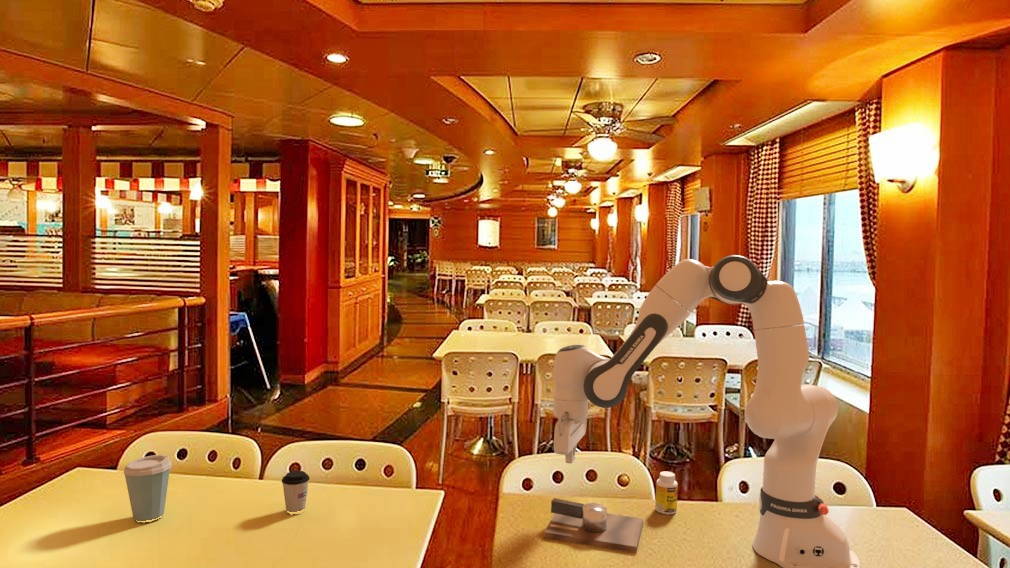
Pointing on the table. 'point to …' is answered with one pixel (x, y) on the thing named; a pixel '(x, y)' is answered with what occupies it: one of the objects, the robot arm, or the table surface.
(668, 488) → the supplement bottle
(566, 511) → the lever handle
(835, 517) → the table surface
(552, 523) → the lock base
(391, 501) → the table surface
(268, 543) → the table surface
